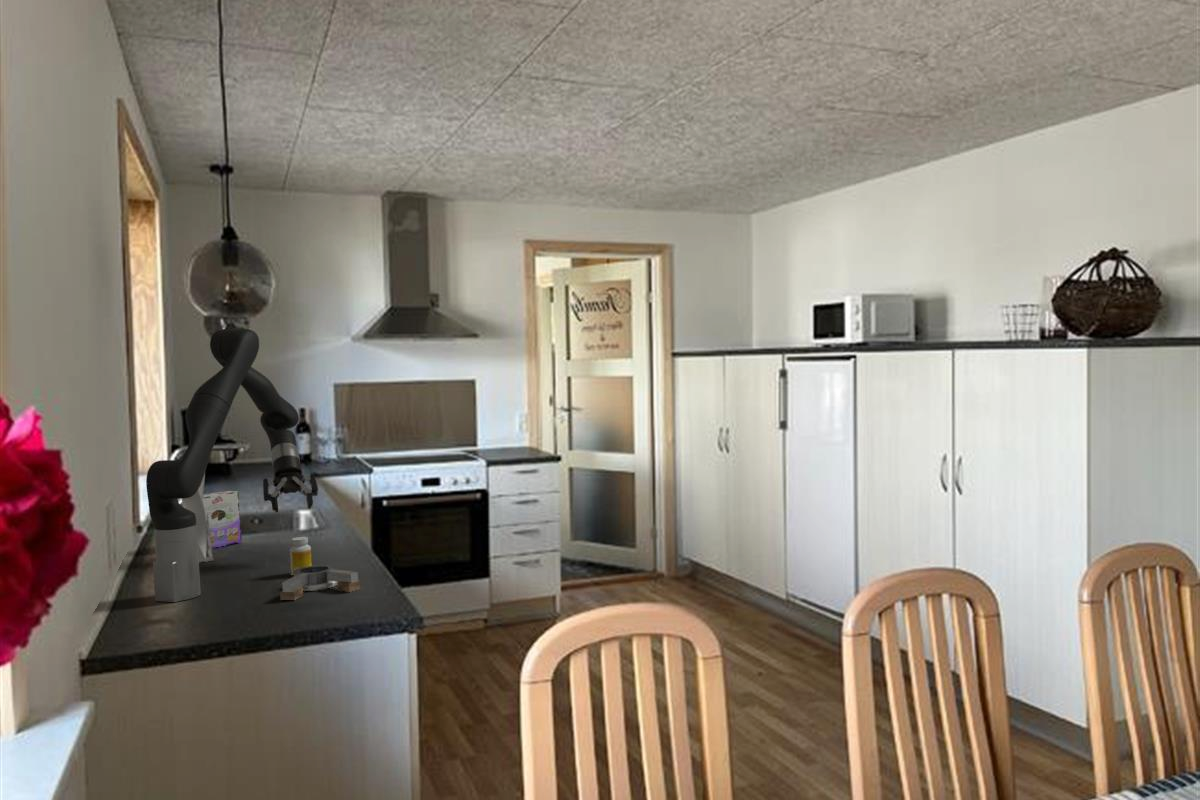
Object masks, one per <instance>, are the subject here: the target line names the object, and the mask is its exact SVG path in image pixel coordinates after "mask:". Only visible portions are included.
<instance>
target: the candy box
mask: <svg viewBox="0 0 1200 800" xmlns="http://www.w3.org/2000/svg"><path fill="white" fill-rule="evenodd" d="M239 501H240V500H239V491H237V490H236V491H235V490H224V491H223V490H222V491H218V492H210V493H205V494H204V493H203V505H204V509H205V515H208V520H209V529H211V544H212V548H214V549H217V548H216V547H219V548H222V547H221V546H224V547H227V546H226V545H228V546H232V545H231V544H233V545H236V544H235V543H238V544H242V543H241V542H242V541H243V540H242V539H243V538H242V527H241V515H240V513H241V512H240V502H239ZM206 521H207V516H206Z"/></svg>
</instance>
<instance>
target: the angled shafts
mask: <svg viewBox="0 0 1200 800" xmlns="http://www.w3.org/2000/svg"><path fill="white" fill-rule="evenodd" d="M358 574H359V573H358V572H357V571H351V570H343V569H337V568H336V569H335V568H334V569H333V570H329V571H327V580H330V581H338V582H346V583H354V582H357V581H358V580H359V575H358ZM307 583H308V574H298V575H296V576H292V577H291V578H288V579H286V580H285V581H282V583H281V584H282V591H283V592H292V591H294V590H296V589H298V588H300V587H302V586H303V585H305V584H307Z"/></svg>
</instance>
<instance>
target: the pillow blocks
mask: <svg viewBox="0 0 1200 800" xmlns="http://www.w3.org/2000/svg"><path fill="white" fill-rule="evenodd" d="M336 587H337V588H336V589H337V592H342V591H345V592H344V593H349V592H350V593H352V591H353V592H356V591H358V590H361V589H362V588H361V580H359V579H358V581H357V582H354V583H346V582H337V586H336ZM355 590H356V591H355ZM279 595H280V596H279V597H280V598H279V599H280V601H281V600H295V601H297V600H299V599H300V597H301V598H302V597H304V592H303V587H300V588H298V589H296V590H294V591H292V592H283V590H281V591H280V593H279ZM298 598H299V599H298ZM296 599H297V600H296Z"/></svg>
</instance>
